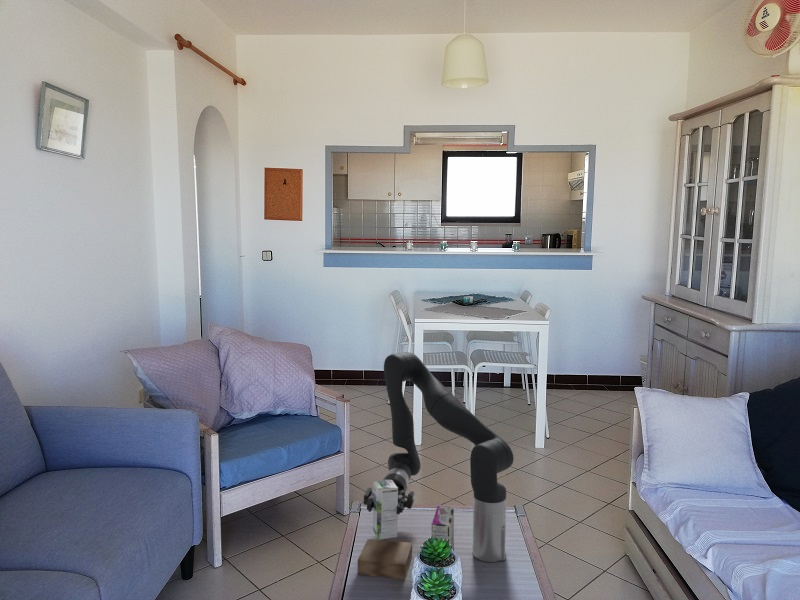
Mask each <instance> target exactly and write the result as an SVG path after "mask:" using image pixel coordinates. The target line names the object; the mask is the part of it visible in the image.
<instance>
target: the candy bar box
mask: <svg viewBox="0 0 800 600" xmlns="http://www.w3.org/2000/svg"><path fill="white" fill-rule="evenodd" d="M432 537H434V538H442V539H444V540H448V541H449V542H450V544H451V546H452V549H453V551H454V552H455V507H453V506H452V507H451V506H445V505H444V506H442V505H437V506H436V510H435V513H434V516H433V518H432V522H431V538H432Z"/></svg>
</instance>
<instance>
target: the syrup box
mask: <svg viewBox="0 0 800 600" xmlns="http://www.w3.org/2000/svg"><path fill="white" fill-rule="evenodd" d="M372 491H373V509H372V532H373V534H374V535H375V538H376V540H387V539H392V538H397V537H398V514H397V506H398V487H397V486H396V484H395V483H394V481H393V480H383V479H382V480H381V479H380V480H376V481H373V489H372Z"/></svg>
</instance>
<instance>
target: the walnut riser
mask: <svg viewBox="0 0 800 600" xmlns="http://www.w3.org/2000/svg"><path fill="white" fill-rule="evenodd" d="M412 558H413V542H408V541H395V540H387V539H381V540H378V539H377V538H376V539H375V538H373V539H372V538H367V539H366V542H365V543H364V545H363V548H362V550H361V553H360V554H359V556H358V559H357V575H359V576H371V577H379V578H380V577H382V578H388V579H389V578H391V579H401V580H402V579H403V580H405V579H406V578H407V575H408V572H409V568H410V566H411V565H410V564H411V561H412Z"/></svg>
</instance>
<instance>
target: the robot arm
mask: <svg viewBox="0 0 800 600" xmlns="http://www.w3.org/2000/svg"><path fill="white" fill-rule="evenodd" d="M383 375H384V380H385V386H386V392H387V395H388V396H387V397H388V401H389V407H390V413H391V414H390V415H391V431H392V432H391V433H392V434H391V435H392V444H393V445H394V446H395V447H398V448H402V449H404V450H406V452H394V453H392V454H390V455H389V456H388V460H387V468H388V471H387V473H386V474H385V476H384V477H383V479H382V480H393V481H394V483H395V484H396V486H397V487H398V506H397V515H401V513H403V512H404V510H405V508H407V509H408V510H409V509H412V507H413V504H414V502H415V491H410V492H408V493H406V492H407V490H408V488H409V483H410V480H411V477H413V476H417V475H418V474H419V472H420V471H421V459H420V456H419V454H418V450H417V447H416V442H415V423H414V418H413V415H412V411H411V409H410V408H409V406H408V404H407V402H406V399H405V398H404V392H403V382H411V383H412V384H414V385H415V387H416V388H418V389H419V391H420V392H421V394H422V395H423V396H422V397H423V402H424V406H425V410H427V413H428V414H429V415H430V416H431V418H433V420H434V421H435V422H437V423H438V424H439V425H440V426H441V427H442V428H444V429H445V430H447V431H448V432H451V433H453V434H455V435H458V436H459V437H463V438H464V439H467V441H468V442H471V443H472V444H473V445H474V446H473V447H472V449H471V452H470V457H469V462H470V463H469V466H470V467H469V468H470V484H471V488H472V491H473V503H472V504H473V505H472V506H473V507H472V508H473V510H472V513H473V515H472V556H474V557H475V558H476V559H477V560H479V561H483V562H488V563H491V562H492V563H496V562H499V561H505V560H506V531H507V530H506V529H507V527H506V526H507V525H506V523H507V517H506V516H507V515H506V514H507V488H506V487H505V485H504V484H502V483H500V482H498V474H499V473H502V472H504V471H506V470H508V469H509V468H511V467H512V465H513V463H514V459H515V458H514V453H513V450H512V448H511V447H510V446H509V443H507V442H506V441H505V440H504V439H503V438H501V437H500V436H499V435H498V434H497V433H495V431H493V430H492V429H490V428H488V427H487V426H486V425H485V424H484V423H483V422H482V421H480V420H479V418H477V417H476V415H475V414H473V413H472V412H471V411H470V410H469V409H468V408H466V406H465V405H464V404H463V403H461V401H460V400H459V399H458V398H457V397H456V396H455V395H454V394H453V393H452V392H450V391H449V390H448V389H447V388H446V387H445V386H444V385H443V384H442V382H441V381H439V379H438V378H436V377H435V376H434V374H433V373H432V372H431V370H429V369H428V367H427V366H426V365H425V363H423V361H422V360H421V359H420V358H419V357H418V356H417V355H416V354H415V353H413V352H409V351H408V352H400V353H399V352H398V353H393V354H389V355H388V356H386V358H385V359H384V361H383ZM363 505H365V506H366V510H368V512H369V513H371V512H373V489H372V487H368V488H366V490H365V492H364V494H363Z"/></svg>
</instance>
